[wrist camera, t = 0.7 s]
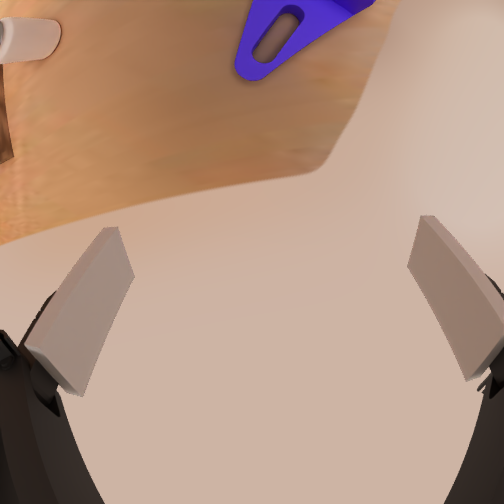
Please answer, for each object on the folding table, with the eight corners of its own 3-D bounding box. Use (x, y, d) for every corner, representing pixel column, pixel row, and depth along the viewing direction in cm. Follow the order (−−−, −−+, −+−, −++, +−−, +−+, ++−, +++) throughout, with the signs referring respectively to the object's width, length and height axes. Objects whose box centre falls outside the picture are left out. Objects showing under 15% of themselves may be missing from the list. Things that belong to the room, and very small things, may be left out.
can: (46, 66, 25) (-12, 75, 15) (26, 50, 23) (-30, 57, 13) (69, 28, 22) (12, 24, 12) (47, 14, 20) (-9, 11, 10)
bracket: (284, -44, 19) (295, -88, 9) (360, 0, 22) (401, -26, 12) (205, 58, 27) (180, 48, 18) (284, 101, 30) (297, 110, 21)
